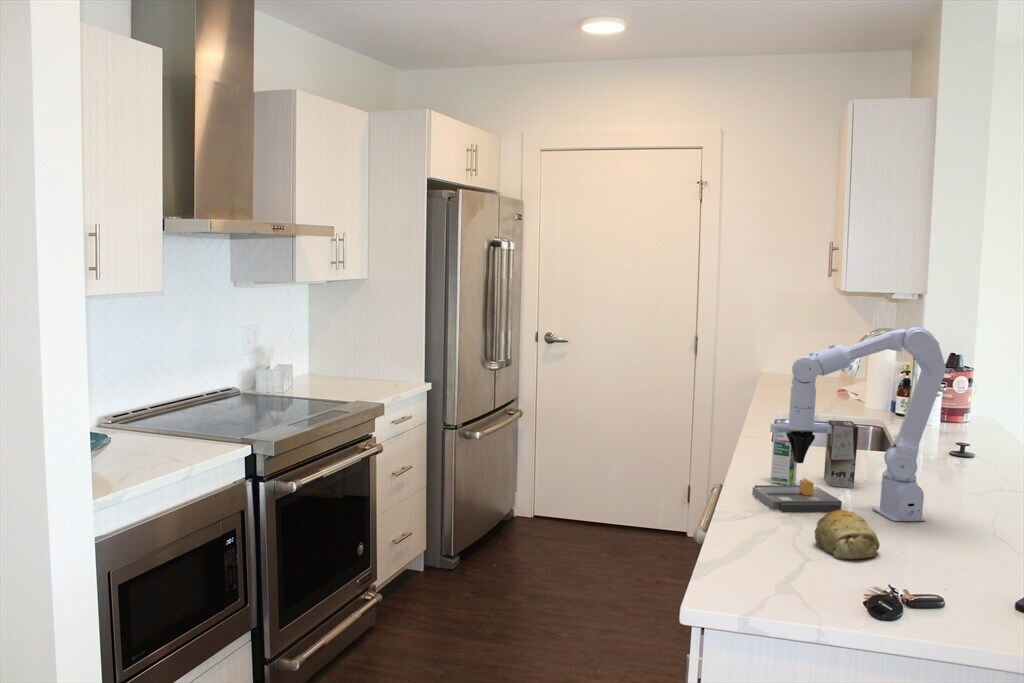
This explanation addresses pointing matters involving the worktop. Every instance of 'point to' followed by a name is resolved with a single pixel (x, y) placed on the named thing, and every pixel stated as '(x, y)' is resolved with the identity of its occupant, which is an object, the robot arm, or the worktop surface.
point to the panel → (791, 496)
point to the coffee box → (841, 454)
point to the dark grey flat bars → (804, 504)
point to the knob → (806, 487)
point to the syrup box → (782, 460)
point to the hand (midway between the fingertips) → (798, 462)
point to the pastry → (846, 535)
